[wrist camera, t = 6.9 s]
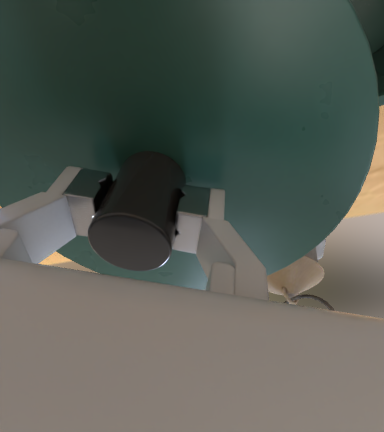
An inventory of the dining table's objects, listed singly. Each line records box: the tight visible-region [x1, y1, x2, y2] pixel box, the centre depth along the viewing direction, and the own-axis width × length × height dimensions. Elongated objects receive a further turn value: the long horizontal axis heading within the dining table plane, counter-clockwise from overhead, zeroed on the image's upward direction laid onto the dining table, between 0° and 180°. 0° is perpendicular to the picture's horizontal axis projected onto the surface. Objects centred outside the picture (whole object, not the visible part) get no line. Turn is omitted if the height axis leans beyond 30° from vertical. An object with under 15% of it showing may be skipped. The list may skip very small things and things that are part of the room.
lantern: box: [267, 239, 335, 311], centre depth 26 cm, size 9×8×25 cm
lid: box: [0, 0, 379, 290], centre depth 10 cm, size 16×16×5 cm
